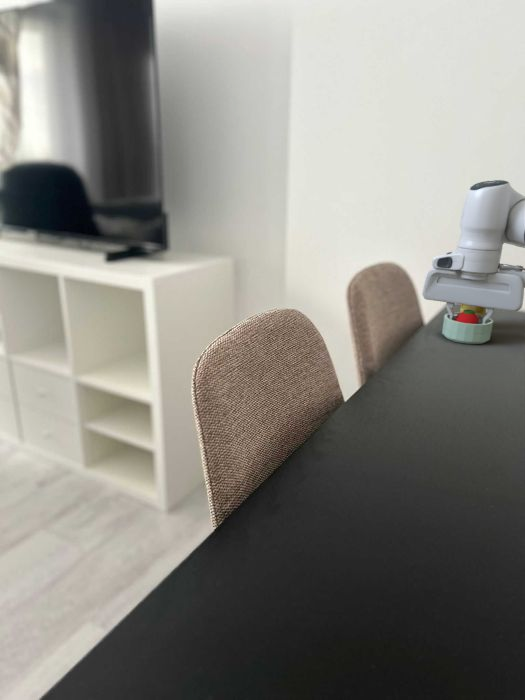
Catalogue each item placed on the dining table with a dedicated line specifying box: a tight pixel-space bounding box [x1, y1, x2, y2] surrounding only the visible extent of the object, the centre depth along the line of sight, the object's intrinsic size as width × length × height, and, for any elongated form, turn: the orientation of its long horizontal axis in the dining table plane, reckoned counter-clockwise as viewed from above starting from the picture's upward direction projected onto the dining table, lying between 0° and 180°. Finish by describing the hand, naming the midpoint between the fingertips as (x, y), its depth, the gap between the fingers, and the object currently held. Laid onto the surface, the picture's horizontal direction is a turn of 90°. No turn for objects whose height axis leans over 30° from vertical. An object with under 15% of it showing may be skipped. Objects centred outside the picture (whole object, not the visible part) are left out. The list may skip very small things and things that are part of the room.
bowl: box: [441, 311, 494, 345], centre depth 113 cm, size 10×10×4 cm
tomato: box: [456, 310, 479, 324], centre depth 112 cm, size 5×5×5 cm
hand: (466, 324), depth 112 cm, fingers closed on tomato, 4 cm apart
